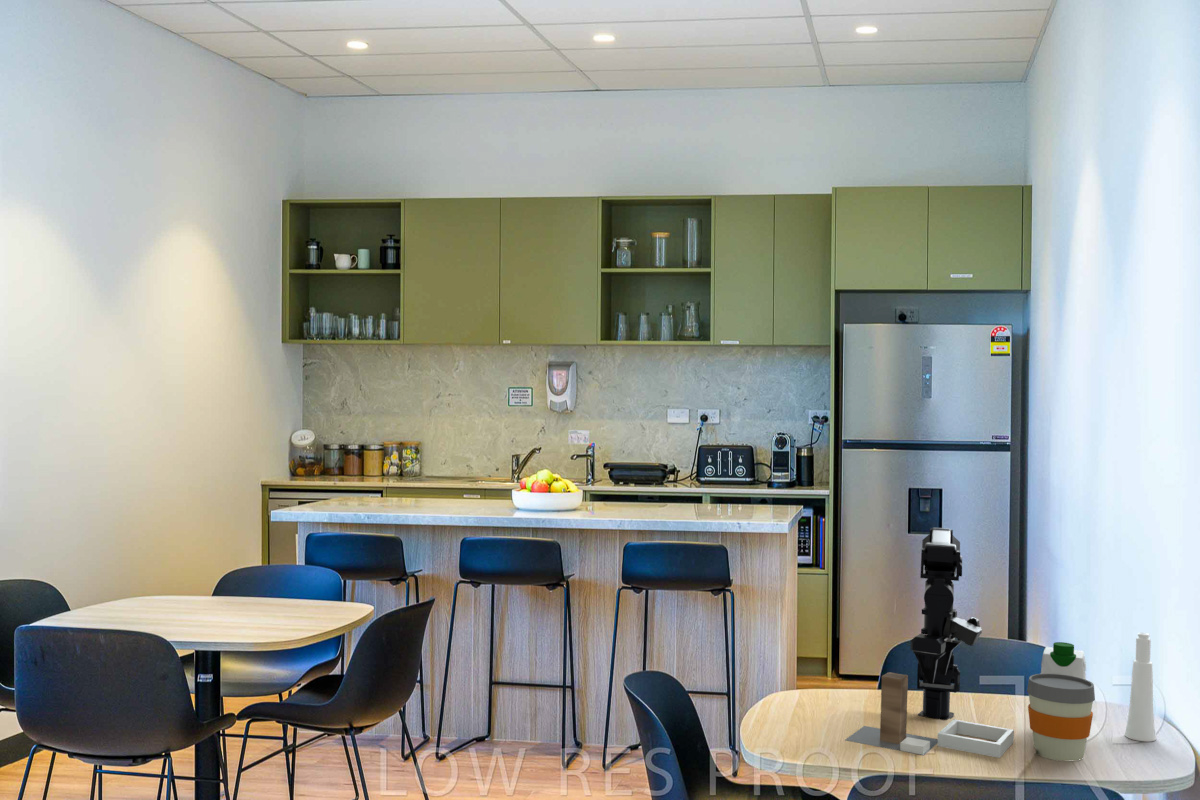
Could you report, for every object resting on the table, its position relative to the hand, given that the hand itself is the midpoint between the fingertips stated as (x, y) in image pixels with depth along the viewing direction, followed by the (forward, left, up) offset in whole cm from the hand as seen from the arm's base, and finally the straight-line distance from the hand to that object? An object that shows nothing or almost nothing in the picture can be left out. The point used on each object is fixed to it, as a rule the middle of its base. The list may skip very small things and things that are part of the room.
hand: (936, 679), depth 238 cm
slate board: (+12, -5, -12) cm, 18 cm away
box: (+5, +9, -12) cm, 16 cm away
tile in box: (+5, +9, -12) cm, 16 cm away
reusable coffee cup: (-2, +24, -12) cm, 27 cm away
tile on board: (+16, 0, -10) cm, 19 cm away
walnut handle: (+12, -5, -10) cm, 17 cm away
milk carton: (-16, +22, -12) cm, 30 cm away
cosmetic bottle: (-26, +36, -12) cm, 46 cm away
